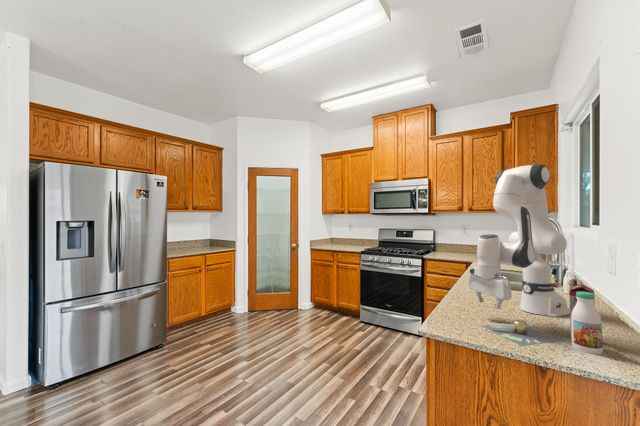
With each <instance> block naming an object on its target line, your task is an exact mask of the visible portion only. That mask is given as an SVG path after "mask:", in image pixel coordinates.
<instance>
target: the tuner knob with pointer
mask: <svg viewBox="0 0 640 426" xmlns="http://www.w3.org/2000/svg"><path fill="white" fill-rule="evenodd" d="M512 323H513V324H506V323H499V322H490V324H489V325H491V327H494V328H505V329H514V332H516V333H519V334H527V325H528V322H527V321H525V320H524V319H523V320H522V319H513V321H512Z"/></svg>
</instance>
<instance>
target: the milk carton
mask: <svg viewBox="0 0 640 426" xmlns="http://www.w3.org/2000/svg"><path fill="white" fill-rule="evenodd" d="M580 291H581V292H589V293H593V294H594V295H595V290H594V288H591V287H588V286H586V285H585V284H583V281H582V279H580V283H579V284H577V285H573V286H571V287H569V309H570V314H569V315H570V316H569V321H570V322H569V325H570V330H571V314H572V311H573V309H574V307H575V306H576V303H577V298H576V297H577V296H576V292H580ZM594 305H596V304H595V302H594Z"/></svg>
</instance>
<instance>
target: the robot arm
mask: <svg viewBox="0 0 640 426" xmlns="http://www.w3.org/2000/svg"><path fill="white" fill-rule="evenodd" d="M550 178H551V172H550V170H549V168H548V167H547V166H546V165H545V164H541V163H540V164H538V163H537V164H535V163H534V164H529V165H520V166H518V167H512V168H510V169H503V170H501V171H499V172H498V173H497V174H496V175H495V185H496V186H495V189H494V192H493V193H494V195H493V198H492V199H493V200H492V206H493V207H492V208H493V209H494V210H495V212H496V213H497V214H499V215H501V216H503V217H504V218H507V219H511V220H514V221H515V223H516V224H517V231H513V232H512V233H510V234H509V237H508V242H504V241H501V240H500V237H499V235H497V234H490V233H489V234H482V235H480V236H479V237H478V239H477V247H476V256H477V263H476V266H475V267H472V268H469V269H468V274H469V275H468V288H469V289H470V290H472V291H474V292H475V296H476V297H477V303H484V297H483V296H482V294H484V295H488V296H490V297H493V298H495V299H496V303H494V304H493V307H494V309H496V310H501V308H502V304H503V302H504V301H510V300H511V299H512V287H511V284H510V283H511V282H510V280H509V278H508V277H507V276H505V275H502V273H501V272H502V269H501V268H502V267H501V265H506V266H514V267H517V268H521V269H522V280H521V287H522V290H521V297H520V303H519V309H520V310H521V311H524V312H525V313H526V312H527V313H530V314H535V315H540V316H548V317H549V316H550V317H553V318H558V317H563V316H567V315H570V307H568V301H567V299H566V298H565V297H564V296H562V295H561V294H560V293H558V292H557V291H556V290H555V288H556V289H559V287H560V285H559V283H555V282H552V269H551V266H550V265H549V264H548V263H547V262H546V261H545V260H543V258H542V257H541V255H549V256H551V255H560V254H563V253H564V252H565V251H566V249H567V247H568V242H567V239H566V237H565V236H564V235H563V234H562V233H560V232H559V231H557V229H556V228H555V227H554V226H553V224H552V222H551V219H550V217H549V215H550V214H549V209H548V199H547V198H548V197H547V193H546V189H545V186H547V185H548V183H549V181H550Z"/></svg>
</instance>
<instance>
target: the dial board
mask: <svg viewBox="0 0 640 426" xmlns="http://www.w3.org/2000/svg"><path fill="white" fill-rule="evenodd" d="M505 324H513V322H508V323H507V322H506V323H505ZM481 327H482V328H484V329H486V330H489V331H490V332H492V333H493V334H496V335H498V336H500V337H502V338H504V339H506V340H508V341H511V342H513V343H514V344H516V345H518V346H521V347H523V346H534V345H541V344H549V343H557V342H566V339H563V338H560V337H557V336H556V335H553V334H550V333H547V332H545V331H543V330H541V329H538V328H536V327H533V326H530V325H528V324H527V334H519V333H516V332H514V329H505V328H494V327H491V325H490V324H488V325H487V324H486V325H481Z"/></svg>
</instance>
